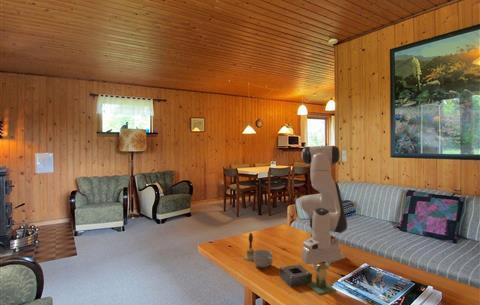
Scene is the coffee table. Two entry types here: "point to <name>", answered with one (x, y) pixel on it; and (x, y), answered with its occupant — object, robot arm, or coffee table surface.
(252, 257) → the hand bell
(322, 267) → the plug
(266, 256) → the teacup
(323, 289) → the coaster
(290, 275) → the housing
